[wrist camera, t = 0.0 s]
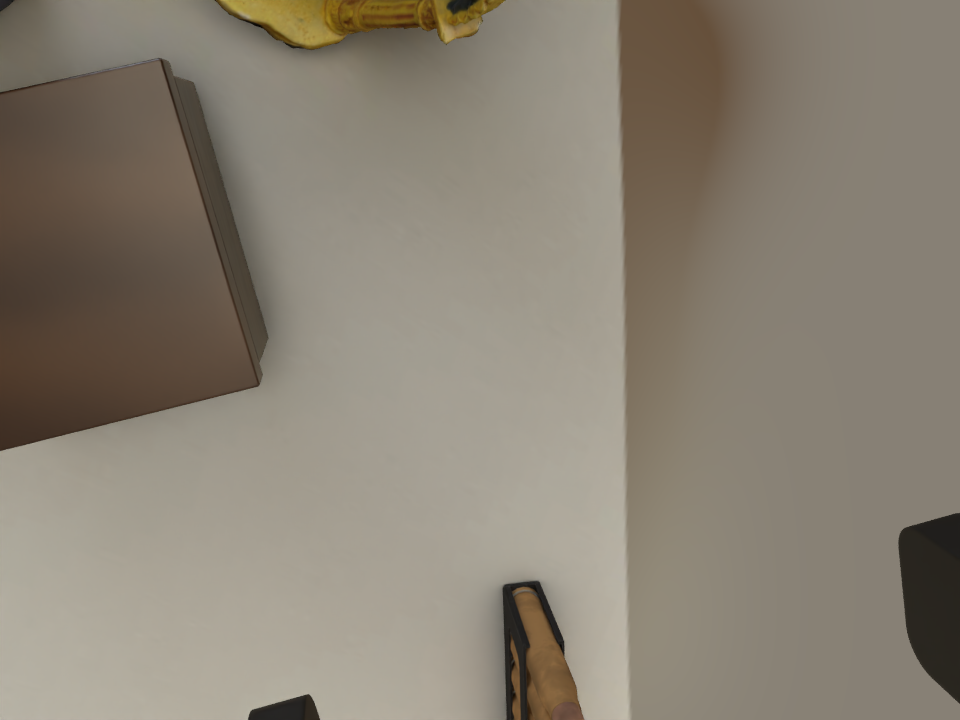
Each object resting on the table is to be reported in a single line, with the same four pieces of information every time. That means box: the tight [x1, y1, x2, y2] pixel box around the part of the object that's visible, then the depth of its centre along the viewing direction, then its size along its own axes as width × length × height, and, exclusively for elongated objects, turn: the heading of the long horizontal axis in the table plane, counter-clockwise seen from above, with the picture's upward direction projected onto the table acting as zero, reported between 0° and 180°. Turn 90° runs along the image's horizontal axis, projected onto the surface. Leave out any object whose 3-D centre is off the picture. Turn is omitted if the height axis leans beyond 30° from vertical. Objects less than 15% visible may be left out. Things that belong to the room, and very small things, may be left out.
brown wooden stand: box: [0, 58, 268, 451], centre depth 35 cm, size 12×10×6 cm
